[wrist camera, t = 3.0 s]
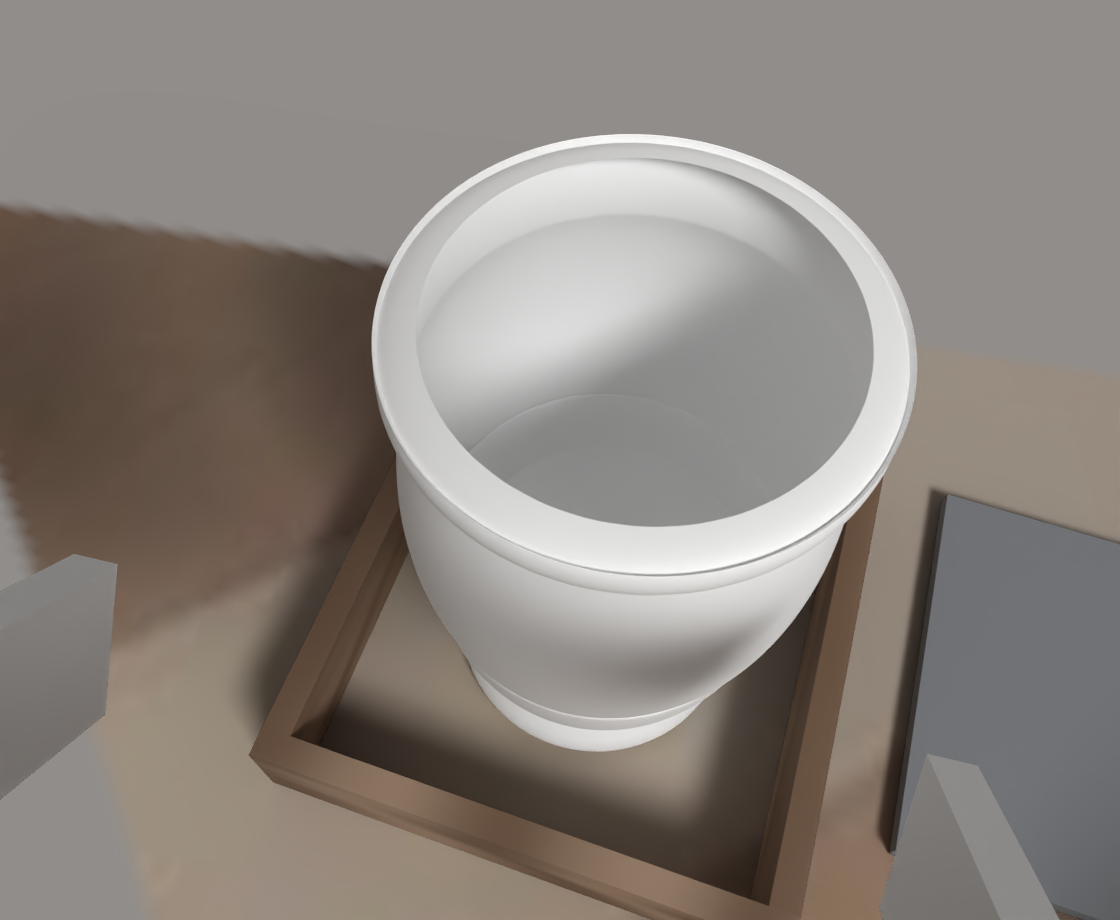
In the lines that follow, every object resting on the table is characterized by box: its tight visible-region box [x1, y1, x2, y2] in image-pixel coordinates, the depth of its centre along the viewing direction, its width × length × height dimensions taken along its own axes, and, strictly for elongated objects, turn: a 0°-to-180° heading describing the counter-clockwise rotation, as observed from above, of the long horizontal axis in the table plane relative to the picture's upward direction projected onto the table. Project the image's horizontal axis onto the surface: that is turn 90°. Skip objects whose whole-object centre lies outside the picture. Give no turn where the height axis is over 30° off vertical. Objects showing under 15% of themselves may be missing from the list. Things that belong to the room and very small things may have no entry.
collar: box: [249, 457, 883, 920], centre depth 30 cm, size 15×16×3 cm
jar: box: [372, 134, 917, 751], centre depth 25 cm, size 11×10×15 cm
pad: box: [889, 494, 1120, 920], centre depth 30 cm, size 12×12×1 cm
